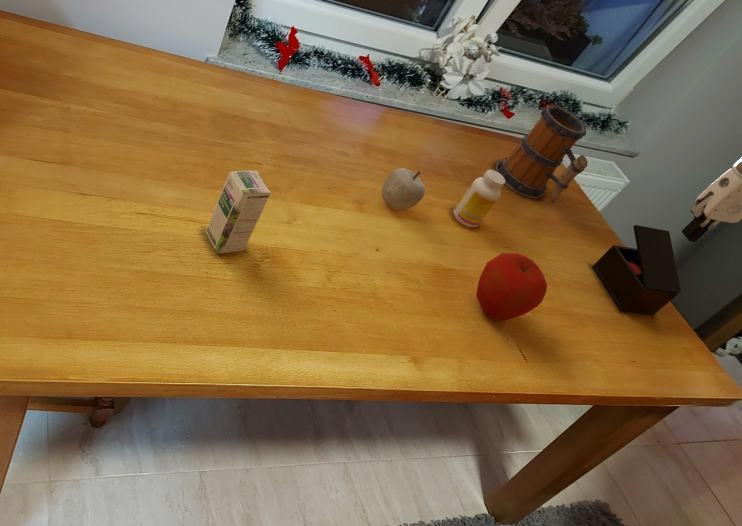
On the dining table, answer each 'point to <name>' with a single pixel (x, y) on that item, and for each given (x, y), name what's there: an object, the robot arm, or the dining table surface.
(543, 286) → the apple
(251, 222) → the syrup box
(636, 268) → the red black block
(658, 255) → the lid
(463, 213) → the supplement bottle
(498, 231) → the dining table surface
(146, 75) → the dining table surface
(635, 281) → the black flip-top box
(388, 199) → the decorative object
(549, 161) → the mug
